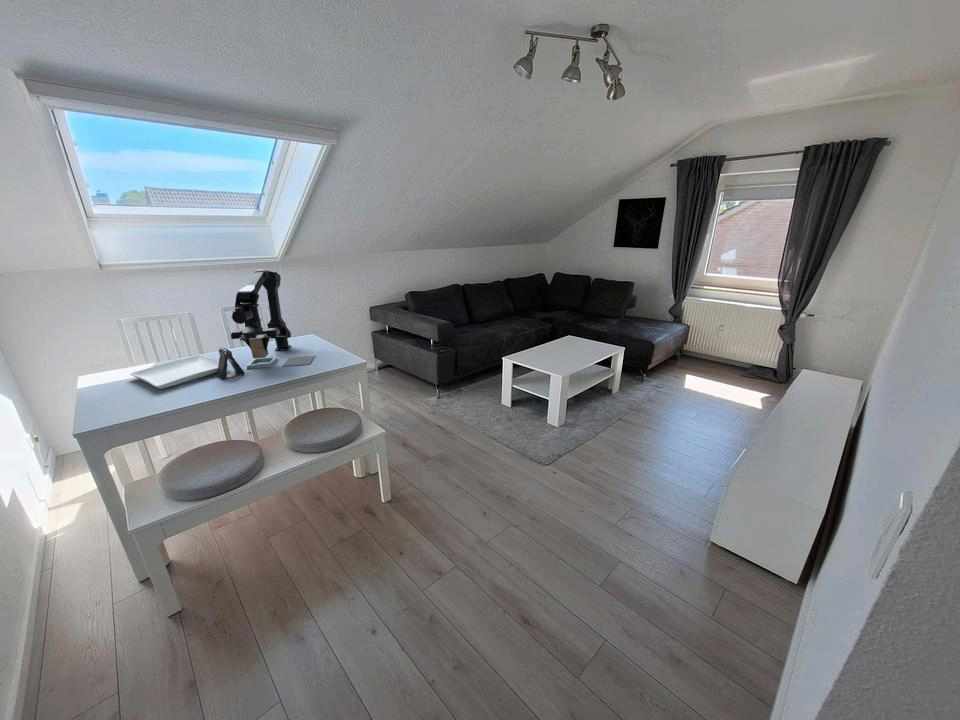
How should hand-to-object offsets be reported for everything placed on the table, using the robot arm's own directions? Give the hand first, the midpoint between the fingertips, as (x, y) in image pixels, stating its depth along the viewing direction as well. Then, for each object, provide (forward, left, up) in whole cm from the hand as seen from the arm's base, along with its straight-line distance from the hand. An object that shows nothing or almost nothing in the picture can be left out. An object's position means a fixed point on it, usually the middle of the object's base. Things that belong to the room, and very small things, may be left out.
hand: (259, 351), depth 171 cm
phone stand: (+12, -9, -7) cm, 16 cm away
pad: (0, +16, -6) cm, 17 cm away
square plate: (+7, -30, -7) cm, 32 cm away
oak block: (0, 0, -3) cm, 3 cm away
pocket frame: (0, 0, -6) cm, 7 cm away
